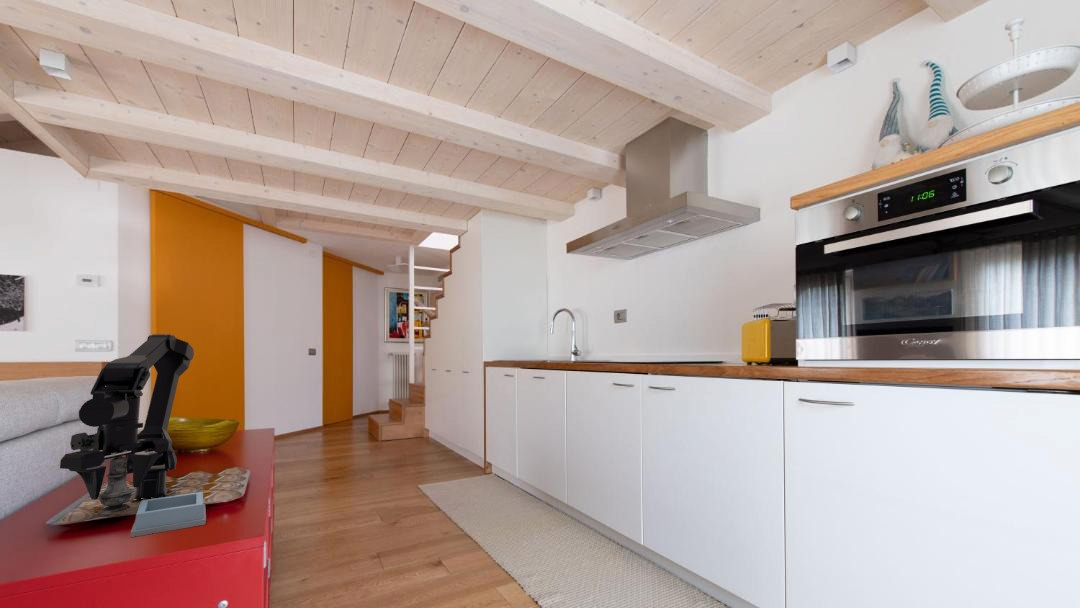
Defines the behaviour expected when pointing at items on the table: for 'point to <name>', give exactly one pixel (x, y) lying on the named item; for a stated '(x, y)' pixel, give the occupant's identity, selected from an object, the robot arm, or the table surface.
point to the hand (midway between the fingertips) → (116, 493)
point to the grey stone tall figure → (116, 488)
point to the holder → (169, 514)
